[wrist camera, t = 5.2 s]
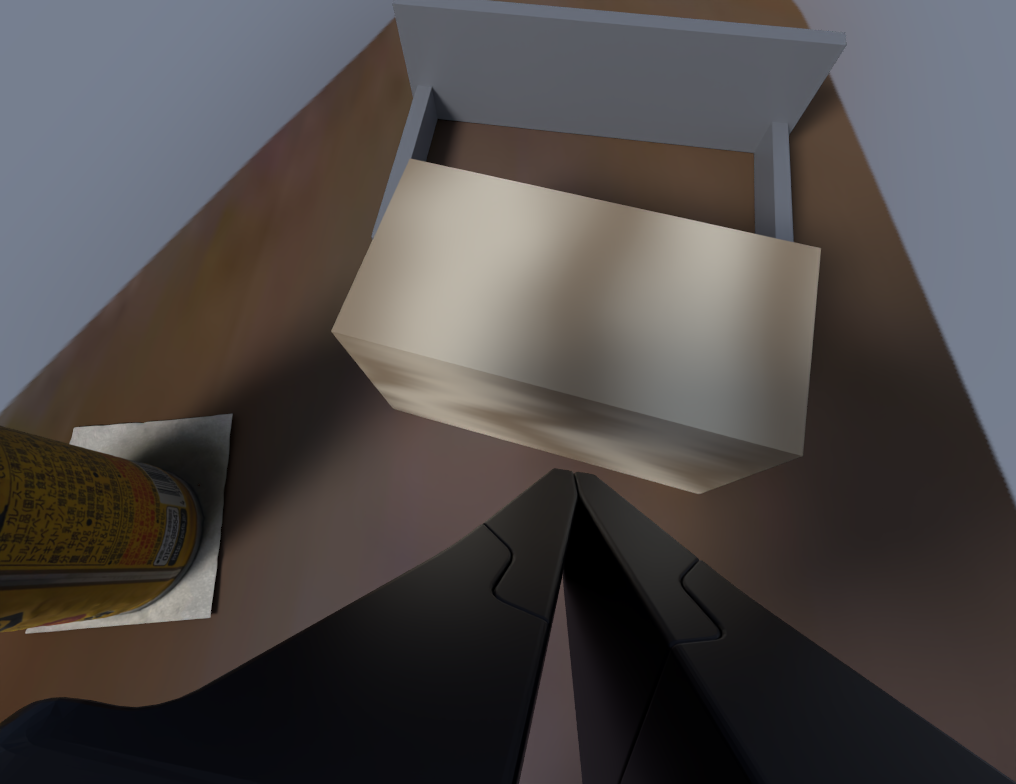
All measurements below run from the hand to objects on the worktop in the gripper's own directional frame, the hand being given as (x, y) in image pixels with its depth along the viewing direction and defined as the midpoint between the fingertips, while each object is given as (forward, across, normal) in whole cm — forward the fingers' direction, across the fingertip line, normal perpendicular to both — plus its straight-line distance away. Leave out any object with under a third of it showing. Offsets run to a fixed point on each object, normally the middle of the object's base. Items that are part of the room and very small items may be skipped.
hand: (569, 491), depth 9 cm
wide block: (+13, 0, -3) cm, 13 cm away
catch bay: (+20, 0, +4) cm, 20 cm away
